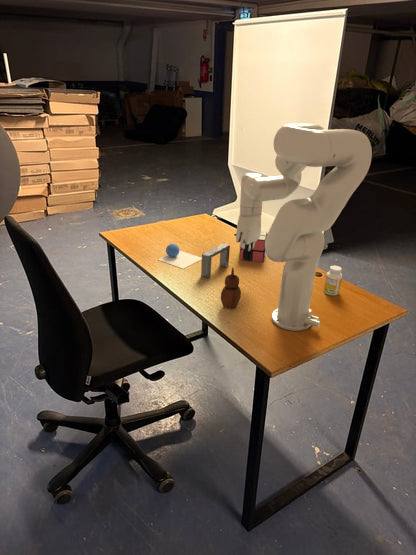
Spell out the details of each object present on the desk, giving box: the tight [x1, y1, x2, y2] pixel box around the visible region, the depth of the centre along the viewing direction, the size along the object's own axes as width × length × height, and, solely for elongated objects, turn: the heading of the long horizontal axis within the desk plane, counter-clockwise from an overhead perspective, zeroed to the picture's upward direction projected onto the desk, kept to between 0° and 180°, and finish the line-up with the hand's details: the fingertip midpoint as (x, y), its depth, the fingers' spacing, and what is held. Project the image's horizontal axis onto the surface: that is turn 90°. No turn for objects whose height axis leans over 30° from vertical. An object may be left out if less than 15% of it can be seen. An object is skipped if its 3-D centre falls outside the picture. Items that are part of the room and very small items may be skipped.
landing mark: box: [158, 250, 202, 270], centre depth 173 cm, size 13×13×1 cm
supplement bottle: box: [323, 265, 343, 296], centre depth 152 cm, size 5×5×10 cm
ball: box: [165, 243, 180, 257], centre depth 174 cm, size 6×6×6 cm
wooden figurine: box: [220, 267, 242, 310], centre depth 138 cm, size 7×6×15 cm
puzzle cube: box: [238, 231, 268, 263], centre depth 177 cm, size 10×10×10 cm
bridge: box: [200, 242, 231, 280], centre depth 163 cm, size 3×14×9 cm, turn 145°
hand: (247, 259), depth 153 cm, fingers closed
